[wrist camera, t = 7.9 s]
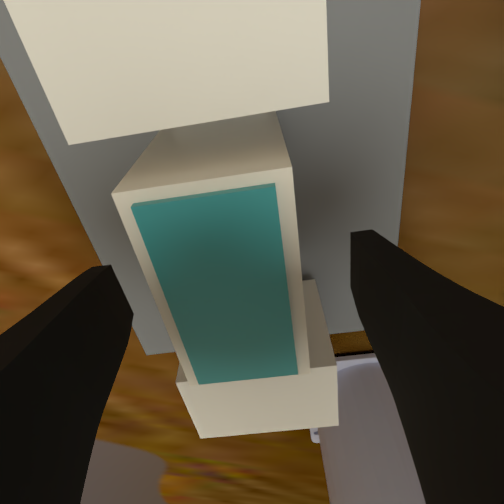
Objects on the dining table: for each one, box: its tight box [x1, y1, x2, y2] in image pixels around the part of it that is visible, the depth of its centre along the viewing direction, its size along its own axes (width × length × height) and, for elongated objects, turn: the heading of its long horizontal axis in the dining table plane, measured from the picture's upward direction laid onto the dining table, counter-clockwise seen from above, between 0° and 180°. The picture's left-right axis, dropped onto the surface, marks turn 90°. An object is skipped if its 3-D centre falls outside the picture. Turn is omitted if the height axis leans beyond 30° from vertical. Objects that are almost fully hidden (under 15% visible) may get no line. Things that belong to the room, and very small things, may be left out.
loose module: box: [111, 111, 311, 386], centre depth 12 cm, size 7×4×6 cm, turn 9°
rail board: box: [0, 0, 421, 438], centre depth 13 cm, size 18×14×6 cm
